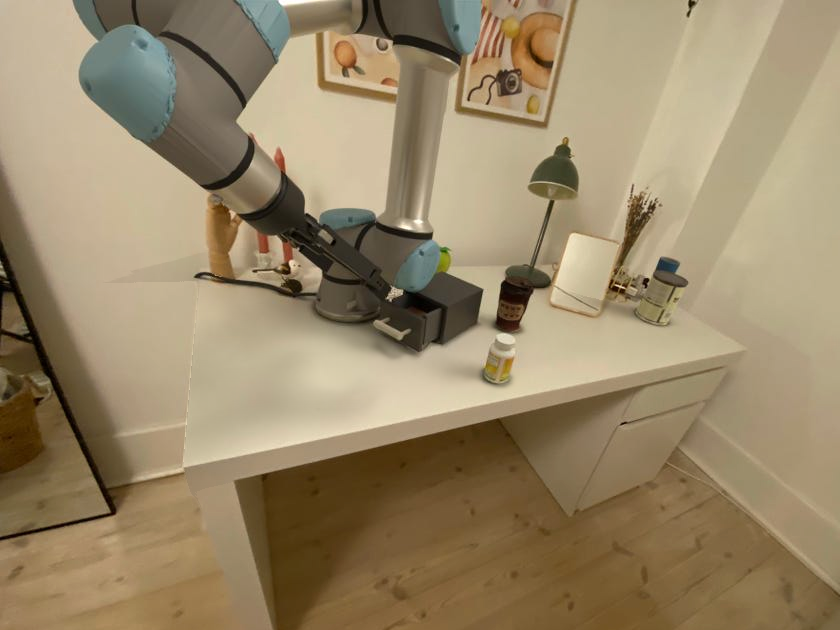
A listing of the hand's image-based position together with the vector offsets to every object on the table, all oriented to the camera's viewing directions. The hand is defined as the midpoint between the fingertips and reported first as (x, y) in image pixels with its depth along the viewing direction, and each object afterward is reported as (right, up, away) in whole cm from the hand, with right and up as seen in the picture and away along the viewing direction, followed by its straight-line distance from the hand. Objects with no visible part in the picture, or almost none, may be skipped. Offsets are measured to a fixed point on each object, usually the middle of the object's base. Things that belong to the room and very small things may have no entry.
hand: (356, 279), depth 64 cm
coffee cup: (+28, -5, +35) cm, 45 cm away
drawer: (+6, -8, +22) cm, 24 cm away
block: (+5, -7, +21) cm, 23 cm away
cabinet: (+11, -4, +30) cm, 33 cm away
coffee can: (+76, 0, +58) cm, 96 cm away
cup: (+82, +8, +71) cm, 109 cm away
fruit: (+6, +13, +54) cm, 56 cm away
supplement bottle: (+24, -17, +16) cm, 34 cm away
